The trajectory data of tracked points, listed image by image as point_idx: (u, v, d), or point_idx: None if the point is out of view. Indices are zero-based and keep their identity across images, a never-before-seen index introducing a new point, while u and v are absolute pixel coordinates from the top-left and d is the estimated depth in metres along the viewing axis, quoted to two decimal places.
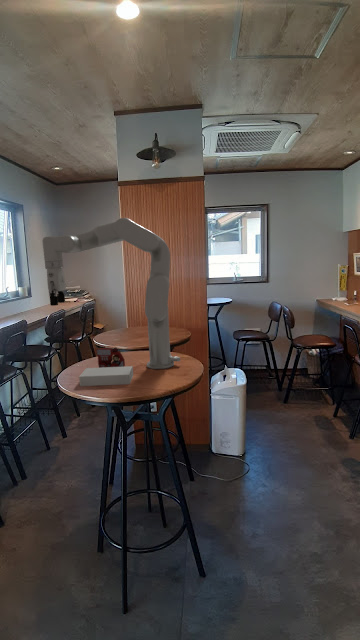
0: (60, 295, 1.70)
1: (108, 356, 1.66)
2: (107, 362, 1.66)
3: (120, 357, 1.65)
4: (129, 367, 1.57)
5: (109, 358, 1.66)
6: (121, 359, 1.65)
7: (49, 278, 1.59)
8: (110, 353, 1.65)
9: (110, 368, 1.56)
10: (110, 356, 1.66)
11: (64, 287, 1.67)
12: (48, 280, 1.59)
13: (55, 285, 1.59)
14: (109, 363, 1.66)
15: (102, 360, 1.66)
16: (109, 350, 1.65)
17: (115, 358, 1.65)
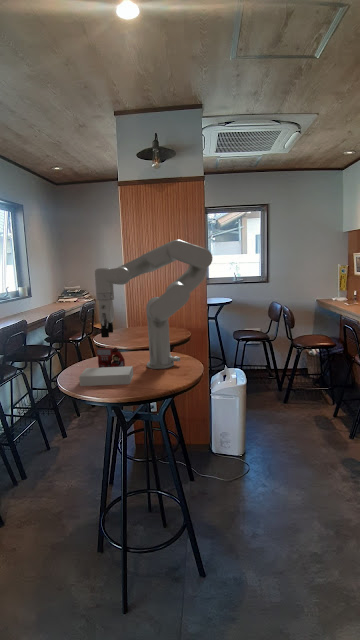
0: (108, 325, 1.68)
1: (108, 356, 1.66)
2: (107, 362, 1.66)
3: (120, 357, 1.65)
4: (129, 367, 1.57)
5: (109, 358, 1.66)
6: (121, 359, 1.65)
7: (101, 310, 1.58)
8: (110, 353, 1.65)
9: (110, 368, 1.56)
10: (110, 356, 1.66)
11: (113, 318, 1.66)
12: (100, 312, 1.58)
13: (107, 317, 1.58)
14: (109, 363, 1.66)
15: (102, 360, 1.66)
16: (109, 350, 1.65)
17: (115, 358, 1.65)
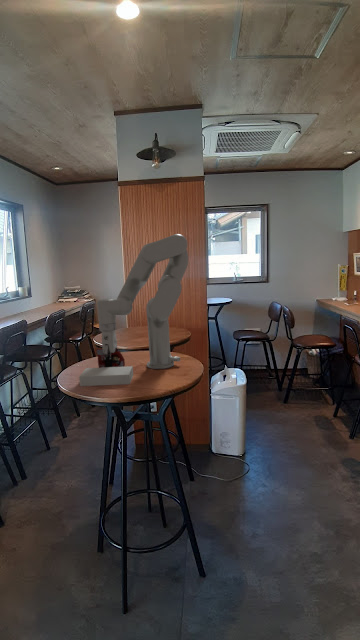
0: None
1: None
2: None
3: (120, 357, 1.65)
4: (129, 367, 1.57)
5: None
6: (121, 359, 1.65)
7: (104, 341, 1.60)
8: None
9: (110, 368, 1.56)
10: None
11: (116, 347, 1.68)
12: (103, 343, 1.60)
13: (110, 348, 1.60)
14: None
15: (102, 360, 1.66)
16: None
17: (115, 358, 1.65)
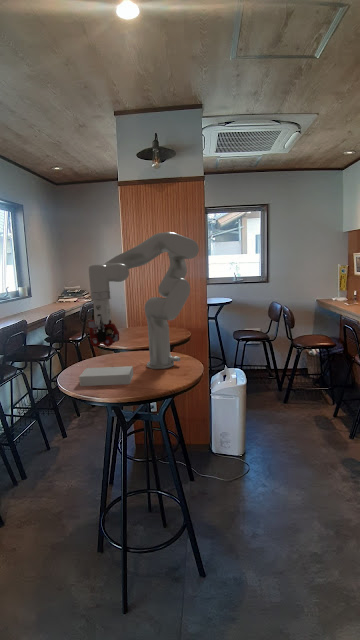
0: (105, 329, 1.54)
1: None
2: None
3: (114, 330, 1.49)
4: (129, 367, 1.57)
5: None
6: (115, 332, 1.49)
7: (96, 311, 1.44)
8: None
9: (110, 368, 1.56)
10: None
11: (110, 319, 1.52)
12: (95, 313, 1.44)
13: (103, 319, 1.44)
14: None
15: (95, 333, 1.50)
16: None
17: (109, 331, 1.49)
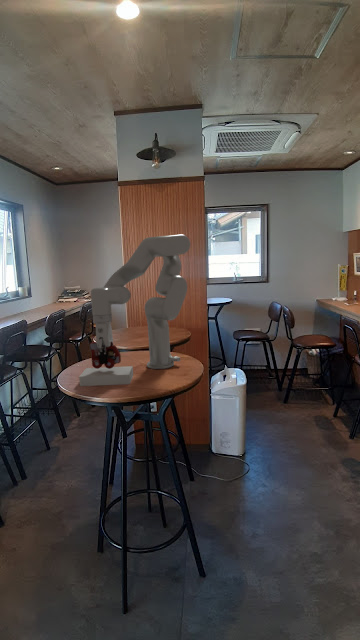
0: None
1: None
2: None
3: (116, 352, 1.50)
4: (129, 367, 1.57)
5: None
6: (117, 354, 1.50)
7: (98, 334, 1.45)
8: None
9: None
10: None
11: (112, 341, 1.53)
12: (97, 336, 1.45)
13: (105, 341, 1.45)
14: None
15: (96, 355, 1.51)
16: None
17: (110, 353, 1.50)
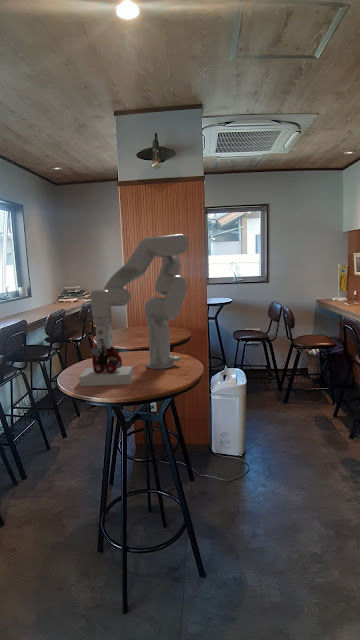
0: None
1: None
2: None
3: (117, 356, 1.51)
4: (129, 367, 1.57)
5: None
6: (118, 359, 1.51)
7: (98, 336, 1.45)
8: (106, 352, 1.51)
9: None
10: None
11: (112, 343, 1.53)
12: (97, 338, 1.45)
13: (105, 343, 1.46)
14: None
15: (97, 360, 1.52)
16: None
17: (111, 358, 1.51)
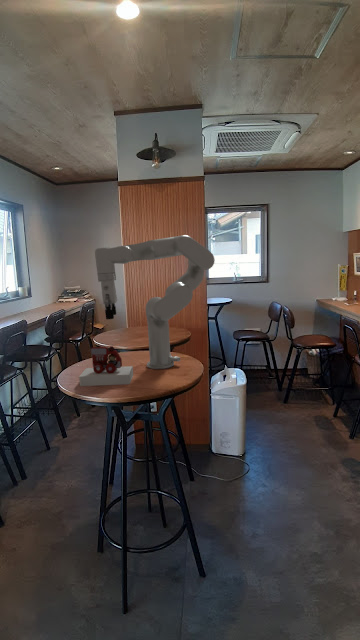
0: (111, 307, 1.64)
1: (104, 356, 1.51)
2: (102, 362, 1.52)
3: (117, 356, 1.51)
4: (129, 367, 1.57)
5: (105, 358, 1.51)
6: (118, 359, 1.51)
7: (104, 291, 1.53)
8: (106, 352, 1.51)
9: None
10: (106, 356, 1.51)
11: (116, 299, 1.61)
12: (103, 293, 1.53)
13: (111, 298, 1.53)
14: (105, 363, 1.52)
15: (97, 360, 1.52)
16: (105, 349, 1.51)
17: (111, 358, 1.51)
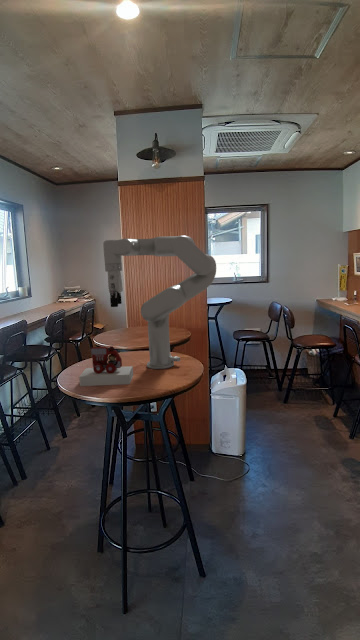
0: (117, 297, 1.74)
1: (104, 356, 1.51)
2: (102, 362, 1.52)
3: (117, 356, 1.51)
4: (129, 367, 1.57)
5: (105, 358, 1.51)
6: (118, 359, 1.51)
7: (110, 280, 1.63)
8: (106, 352, 1.51)
9: None
10: (106, 356, 1.51)
11: (122, 289, 1.71)
12: (109, 282, 1.64)
13: (116, 287, 1.64)
14: (105, 363, 1.52)
15: (97, 360, 1.52)
16: (105, 349, 1.51)
17: (111, 358, 1.51)
